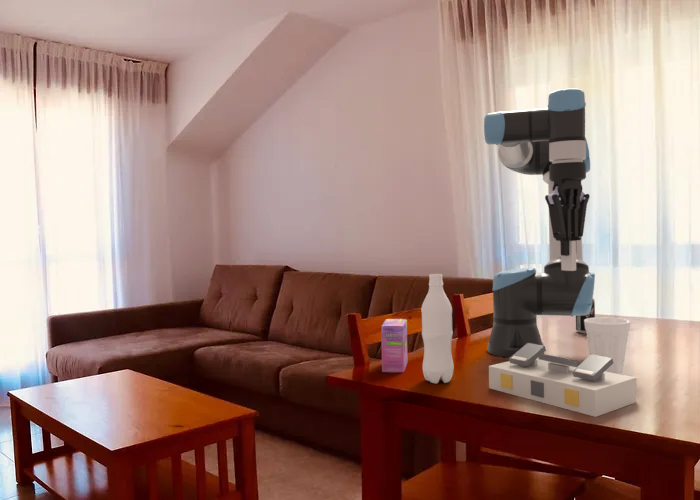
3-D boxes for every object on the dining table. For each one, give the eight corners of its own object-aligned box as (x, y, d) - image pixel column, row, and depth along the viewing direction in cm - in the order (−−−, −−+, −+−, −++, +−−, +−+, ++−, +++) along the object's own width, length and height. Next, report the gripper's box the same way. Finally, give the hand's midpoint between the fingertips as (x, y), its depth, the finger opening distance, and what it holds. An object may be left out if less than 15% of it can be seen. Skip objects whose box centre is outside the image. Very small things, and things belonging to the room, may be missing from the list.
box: (404, 372, 151) (403, 325, 150) (381, 372, 152) (380, 325, 151) (408, 363, 161) (407, 318, 161) (386, 362, 162) (385, 318, 162)
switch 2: (558, 363, 131) (559, 357, 131) (577, 367, 128) (578, 361, 128) (538, 359, 127) (539, 353, 128) (557, 363, 124) (558, 356, 124)
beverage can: (596, 331, 196) (596, 294, 196) (593, 334, 191) (592, 296, 191) (578, 330, 199) (577, 293, 199) (574, 333, 195) (573, 295, 194)
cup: (627, 383, 135) (627, 325, 134) (580, 378, 140) (579, 322, 139) (633, 373, 143) (633, 318, 143) (588, 369, 148) (588, 316, 148)
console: (530, 377, 142) (529, 350, 142) (636, 402, 121) (636, 370, 121) (488, 388, 134) (487, 359, 134) (594, 417, 113) (594, 383, 113)
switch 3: (592, 359, 125) (591, 354, 125) (613, 363, 121) (612, 357, 121) (573, 376, 121) (572, 371, 121) (594, 381, 117) (592, 375, 117)
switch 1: (529, 347, 138) (527, 342, 138) (546, 350, 134) (544, 345, 134) (510, 363, 134) (508, 358, 134) (527, 366, 131) (525, 361, 130)
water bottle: (453, 385, 138) (450, 275, 137) (421, 384, 139) (418, 276, 138) (454, 377, 145) (451, 272, 144) (424, 376, 146) (421, 273, 145)
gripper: (570, 164, 139) (571, 266, 140) (533, 163, 131) (535, 271, 133) (600, 161, 133) (601, 268, 134) (563, 160, 125) (565, 274, 127)
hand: (568, 270), depth 133 cm, fingers closed
